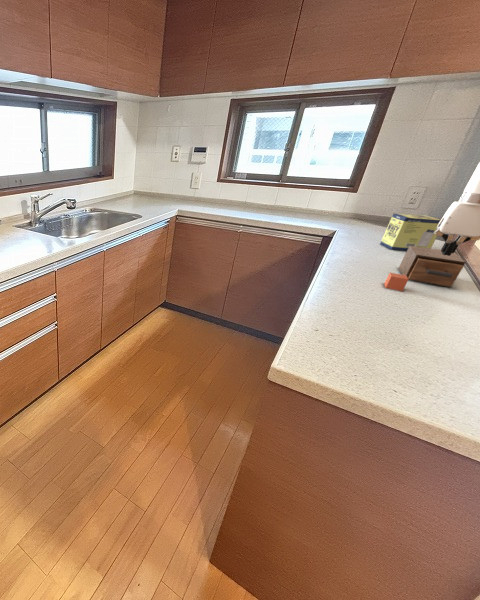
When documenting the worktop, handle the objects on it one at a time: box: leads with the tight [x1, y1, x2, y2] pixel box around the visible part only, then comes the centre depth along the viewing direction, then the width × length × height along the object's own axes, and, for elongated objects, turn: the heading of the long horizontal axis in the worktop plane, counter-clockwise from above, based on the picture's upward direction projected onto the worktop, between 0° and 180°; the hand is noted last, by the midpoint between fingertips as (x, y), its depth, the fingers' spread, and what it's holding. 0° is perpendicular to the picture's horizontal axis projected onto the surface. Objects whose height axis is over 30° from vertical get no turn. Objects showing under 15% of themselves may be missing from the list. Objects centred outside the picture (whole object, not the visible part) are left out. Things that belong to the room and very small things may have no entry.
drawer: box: [408, 257, 464, 288], centre depth 118 cm, size 18×11×8 cm, turn 145°
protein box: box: [380, 213, 442, 252], centre depth 155 cm, size 10×16×16 cm
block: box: [383, 272, 410, 292], centre depth 113 cm, size 4×4×4 cm
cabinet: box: [398, 246, 466, 288], centre depth 122 cm, size 15×13×10 cm
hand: (445, 254), depth 111 cm, fingers closed
